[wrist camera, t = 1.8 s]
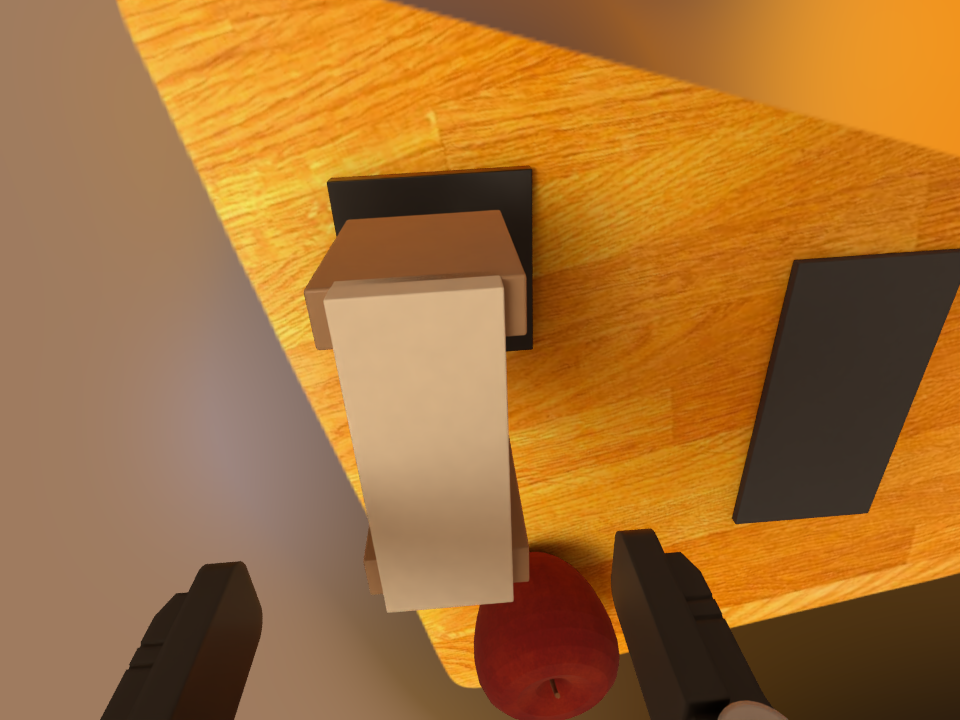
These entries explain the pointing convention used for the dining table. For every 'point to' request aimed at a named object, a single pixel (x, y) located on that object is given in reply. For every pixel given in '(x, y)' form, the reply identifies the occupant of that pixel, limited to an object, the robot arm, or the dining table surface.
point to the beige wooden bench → (429, 400)
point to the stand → (447, 207)
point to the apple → (546, 645)
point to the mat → (842, 380)
